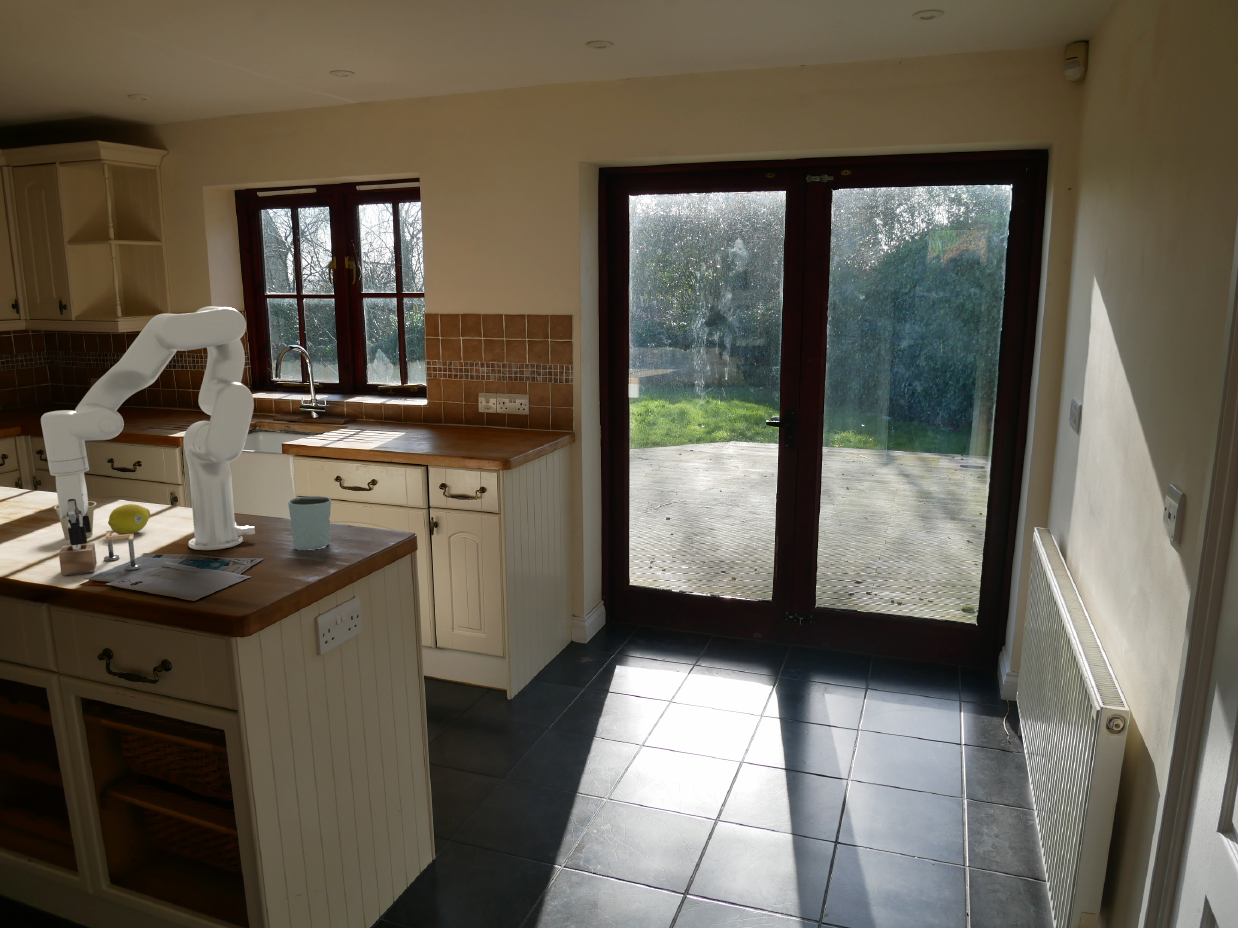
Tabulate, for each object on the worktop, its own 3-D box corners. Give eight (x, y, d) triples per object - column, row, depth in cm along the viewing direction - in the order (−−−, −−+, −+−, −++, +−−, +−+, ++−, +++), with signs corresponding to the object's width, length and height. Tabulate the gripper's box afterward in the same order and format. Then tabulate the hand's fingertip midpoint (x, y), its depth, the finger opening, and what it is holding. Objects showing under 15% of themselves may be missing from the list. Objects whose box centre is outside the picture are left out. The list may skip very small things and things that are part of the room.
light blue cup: (282, 547, 220) (279, 501, 218) (313, 538, 229) (310, 493, 226) (311, 553, 215) (308, 506, 213) (341, 543, 224) (339, 498, 222)
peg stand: (91, 567, 203) (87, 531, 201) (89, 572, 199) (85, 536, 198) (69, 569, 201) (65, 533, 199) (67, 575, 197) (62, 538, 196)
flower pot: (108, 532, 232) (104, 501, 231) (83, 542, 223) (79, 509, 222) (74, 531, 233) (71, 500, 232) (49, 541, 224) (45, 508, 222)
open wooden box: (96, 563, 204) (94, 542, 203) (94, 570, 199) (91, 549, 198) (64, 566, 201) (62, 545, 201) (61, 574, 196) (58, 553, 195)
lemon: (115, 540, 225) (111, 510, 224) (103, 535, 230) (99, 505, 229) (158, 532, 233) (155, 503, 232) (146, 527, 238) (143, 498, 237)
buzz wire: (114, 556, 211) (111, 528, 210) (151, 565, 205) (148, 536, 204) (93, 562, 207) (90, 533, 206) (131, 571, 201) (128, 541, 199)
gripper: (54, 460, 202) (66, 531, 205) (43, 475, 186) (57, 551, 190) (91, 456, 205) (103, 526, 209) (84, 471, 190) (97, 546, 194)
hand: (81, 538), depth 199 cm, fingers open, 9 cm apart
